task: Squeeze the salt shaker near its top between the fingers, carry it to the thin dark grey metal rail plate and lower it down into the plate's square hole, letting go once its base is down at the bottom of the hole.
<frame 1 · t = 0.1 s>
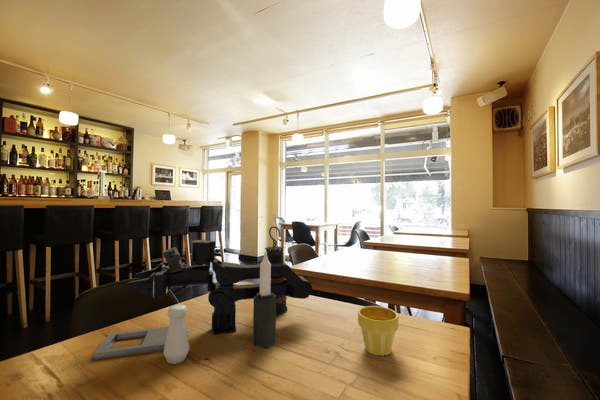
hand: (130, 280, 78), 17 cm above the table, tool horizontal, fingers open, 9 cm apart
lantern: (275, 310, 101), on the table
rail plate: (145, 342, 76), on the table
candle: (264, 343, 77), on the table
salt shaker: (176, 360, 68), on the table
plant pot: (377, 350, 74), on the table
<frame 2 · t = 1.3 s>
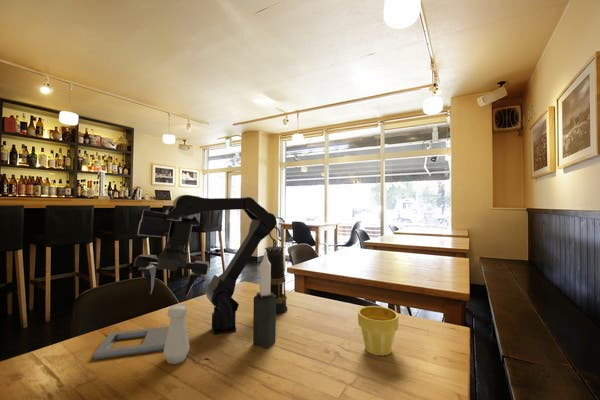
hand: (168, 295, 77), 13 cm above the table, tool pointing down, fingers open, 9 cm apart
nothing on the table moved.
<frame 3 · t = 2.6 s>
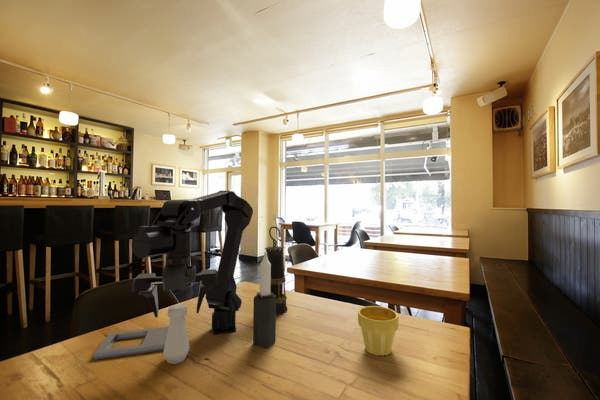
hand: (177, 314, 69), 11 cm above the table, tool pointing down, fingers open, 9 cm apart
nothing on the table moved.
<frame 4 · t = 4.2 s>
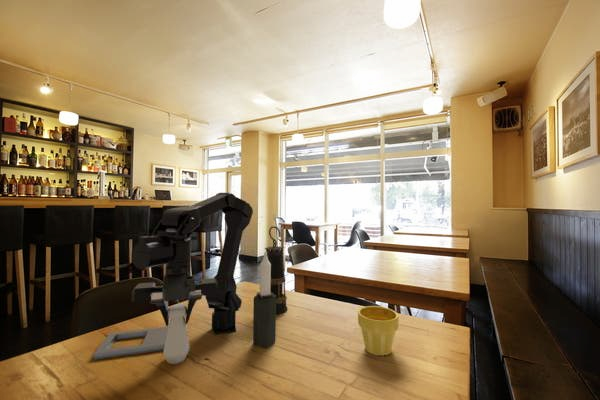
hand: (177, 324, 69), 9 cm above the table, tool pointing down, fingers closed on salt shaker, 4 cm apart
salt shaker: (176, 360, 68), on the table, touching gripper
everything else where it was.
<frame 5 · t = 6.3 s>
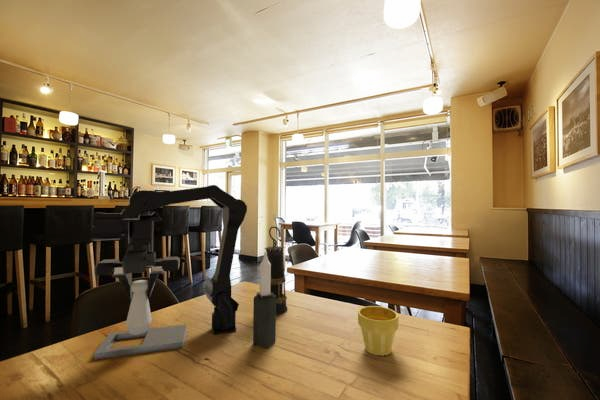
hand: (139, 298, 73), 13 cm above the table, tool pointing down, fingers closed on salt shaker, 4 cm apart
salt shaker: (138, 331, 73), point 4 cm above the table, touching gripper
everything else where it was.
when the fingers open (9 cm above the table, at t = 8.4 s): salt shaker stays where it is, resting in rail plate.
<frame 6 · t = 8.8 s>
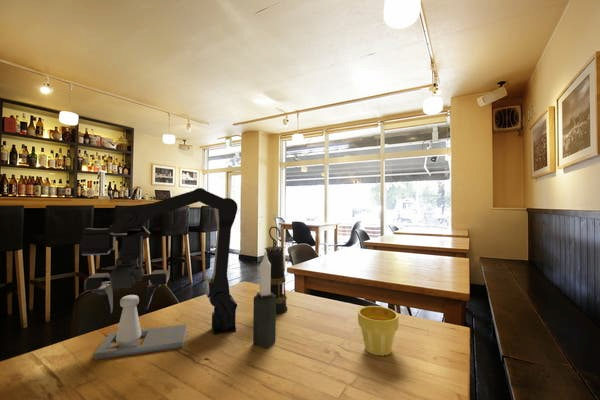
hand: (128, 311, 75), 9 cm above the table, tool pointing down, fingers open, 8 cm apart
salt shaker: (128, 345, 75), resting in rail plate
everything else where it was.
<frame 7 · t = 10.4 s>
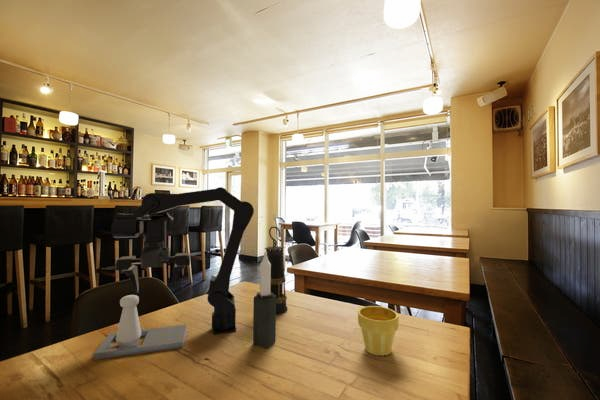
hand: (155, 290, 81), 13 cm above the table, tool pointing down, fingers open, 9 cm apart
nothing on the table moved.
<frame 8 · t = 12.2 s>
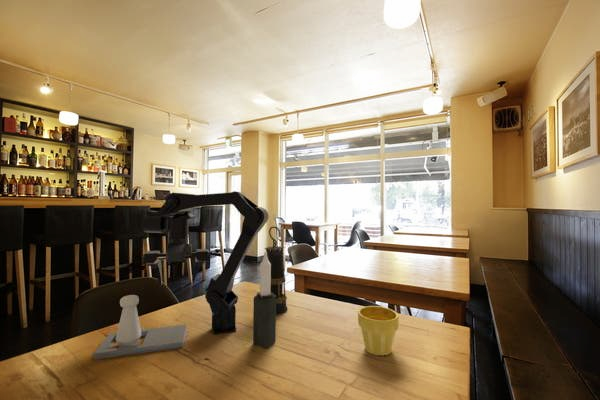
hand: (177, 283, 87), 13 cm above the table, tool pointing down, fingers open, 9 cm apart
nothing on the table moved.
at the end: salt shaker 0.1 cm from the target spot, resting in rail plate; salt shaker tilted 0°; the gripper is holding nothing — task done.
